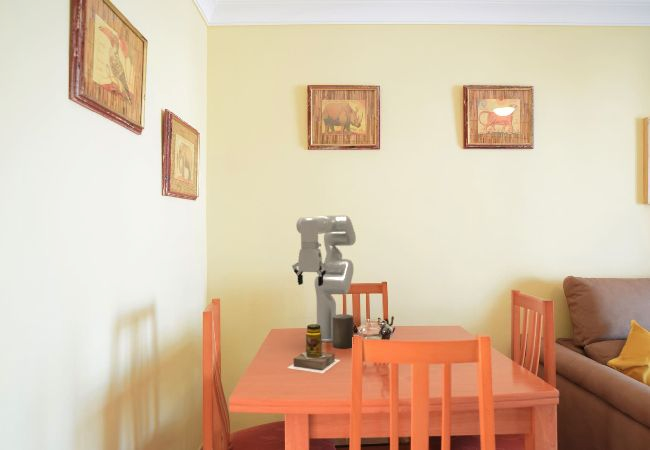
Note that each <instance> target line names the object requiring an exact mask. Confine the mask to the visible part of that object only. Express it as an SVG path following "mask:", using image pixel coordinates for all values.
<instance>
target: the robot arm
mask: <svg viewBox="0 0 650 450" xmlns="http://www.w3.org/2000/svg"><path fill="white" fill-rule="evenodd" d="M296 231H297V232H298V233H299V234H300V246H301V248H300V249H299V252H298V262H296V263H294V264H293V265H291V266H292V270H293V272H294V273H295V274H296V276H297V284H298V285H299V286H300V285H304V275H303V273H305V272H306V273H317V276H316V277H315V278H314V289H315V297H316V298H315V299H316V324H318V325H320V329H321V330H320V332H321V340H322V343H323V342H325V343H329V342H330V343H333V316H334V315H337V304H336V300H335V297H333V295H347V294H348V293H349V292H350V288H351V284H352V280H353V276H354V263H353V262H352V260H350V259H348V258H343V253H342V252H341V250H340V249H339V248H338V246H339V247H344V246H347V247H348V246H349V247H350V246H353V245H354V244H355V243H356V239H357V235H356V231H355V229H354V225H353V223H352V220H351V219H350V217H349V216H348V215H346V214H345V215H343V214H341V215H320V216H318V215H317V216H310V217H309V216H308V217H300V218H298V220H297V221H296ZM321 234H324V236H323V243H324V249H325V252H326V254H325V258H324V261H323V257H322V251H321V248H319V247H321V246H322V244H321V243H320V242H319V235H321Z"/></svg>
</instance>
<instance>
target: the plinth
mask: <svg viewBox="0 0 650 450" xmlns="http://www.w3.org/2000/svg"><path fill="white" fill-rule="evenodd" d="M303 353H306V351H304V352H303ZM322 354H323V355H324V356H326V357H322V358H315V359H307V358H306V357H305V356H304V355H303V354H302V353H301V354H299V355H297V356H296V357H294V358H293V364H294V366H295V367H301V368H308V369H315V370H323V369H325V368H326V367H327V366H329V365H330V364H332V363H333V362H334V361H335V359H336V358H335V353H333V352H332V353H330V352H324V351H322Z"/></svg>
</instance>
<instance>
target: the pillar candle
mask: <svg viewBox="0 0 650 450" xmlns="http://www.w3.org/2000/svg"><path fill="white" fill-rule="evenodd" d="M352 337H353V338H354V315H352V314H346V313H345V314H344V313H341V314H336V315H334V316H333V341H332V346H333V347H334V348H335V349H336V348H337V349H349V348H353V347H352Z"/></svg>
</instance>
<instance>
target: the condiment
mask: <svg viewBox="0 0 650 450" xmlns="http://www.w3.org/2000/svg"><path fill="white" fill-rule="evenodd" d="M320 330H321V329H320V325H318V324H317V323H315V324H313V323H312V324H308V325H307V326H306V333H305V352H306V353H304V352H301V354H303V355H304V356H305V357H306V358H307V359H315V358H322V357H326V356H324V355H323V354H322V352H323V351H322V350H323V349H322V344H323V342H322V340H321V332H320Z"/></svg>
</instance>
